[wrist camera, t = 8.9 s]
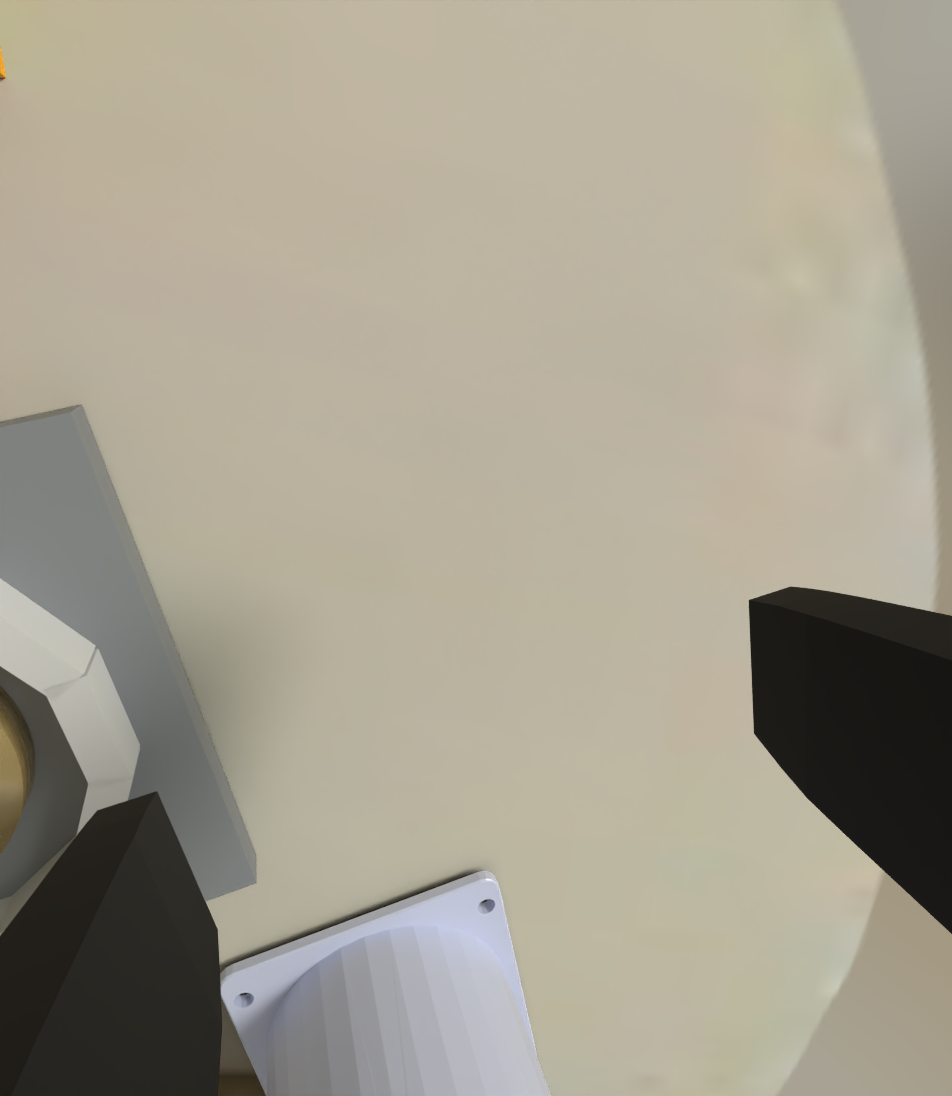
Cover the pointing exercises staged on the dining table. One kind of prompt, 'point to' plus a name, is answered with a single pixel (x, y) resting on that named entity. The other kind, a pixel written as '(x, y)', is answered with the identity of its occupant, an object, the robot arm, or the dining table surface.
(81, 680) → the carrier plate
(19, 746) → the brass cabinet knob
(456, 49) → the dining table surface
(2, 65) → the pipe clamp
